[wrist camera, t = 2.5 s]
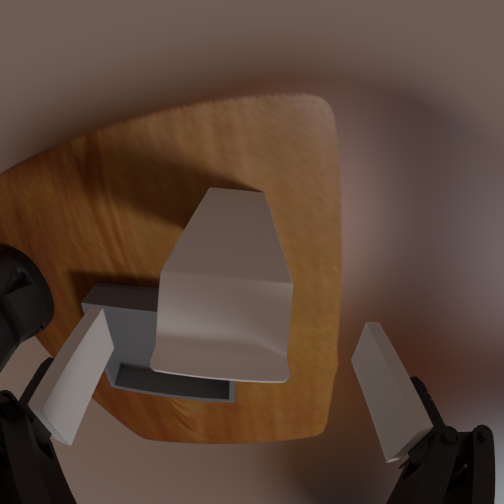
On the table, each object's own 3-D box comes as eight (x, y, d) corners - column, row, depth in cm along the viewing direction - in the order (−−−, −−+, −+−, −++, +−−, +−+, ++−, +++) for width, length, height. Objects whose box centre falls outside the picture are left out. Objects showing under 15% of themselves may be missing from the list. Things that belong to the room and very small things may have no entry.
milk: (209, 186, 29) (134, 309, 9) (265, 192, 29) (308, 326, 9) (205, 239, 32) (154, 406, 11) (258, 244, 32) (278, 418, 12)
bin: (120, 365, 40) (111, 387, 36) (96, 282, 34) (80, 302, 29) (235, 378, 41) (234, 402, 37) (239, 293, 35) (238, 317, 30)
